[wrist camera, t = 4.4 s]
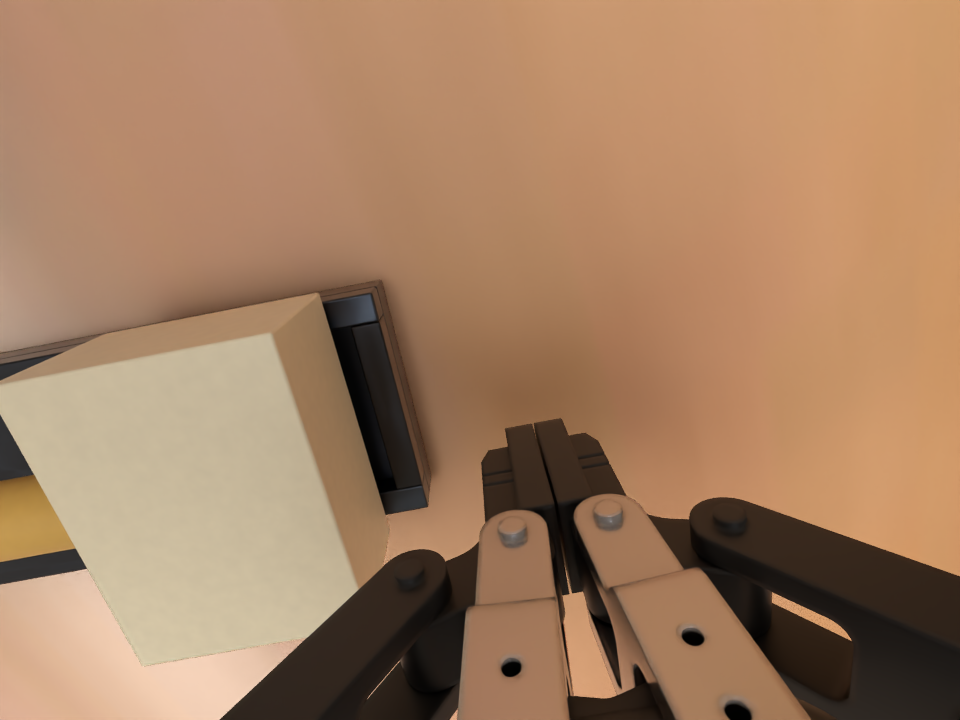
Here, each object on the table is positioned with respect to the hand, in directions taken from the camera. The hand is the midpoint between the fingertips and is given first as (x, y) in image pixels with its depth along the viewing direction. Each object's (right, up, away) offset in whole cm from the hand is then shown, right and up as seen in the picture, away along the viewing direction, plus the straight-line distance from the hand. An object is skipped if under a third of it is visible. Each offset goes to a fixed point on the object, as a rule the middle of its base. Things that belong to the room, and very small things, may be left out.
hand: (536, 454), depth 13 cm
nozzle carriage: (-12, 0, +6) cm, 13 cm away
